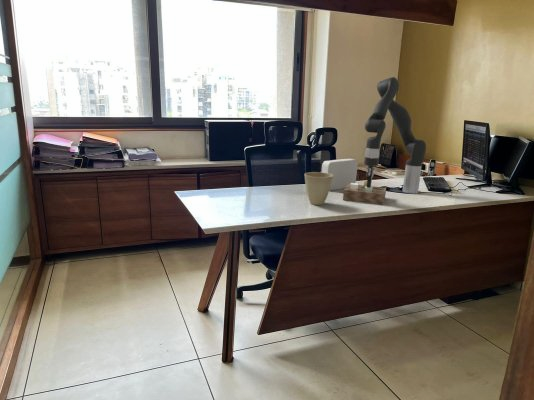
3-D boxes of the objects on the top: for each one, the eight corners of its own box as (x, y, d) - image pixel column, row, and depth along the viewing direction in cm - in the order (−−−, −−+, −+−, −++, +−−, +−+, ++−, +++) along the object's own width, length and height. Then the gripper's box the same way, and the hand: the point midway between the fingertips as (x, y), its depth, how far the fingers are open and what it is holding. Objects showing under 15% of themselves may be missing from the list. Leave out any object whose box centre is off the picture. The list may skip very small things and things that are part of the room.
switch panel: (385, 197, 222) (386, 187, 221) (383, 205, 206) (384, 193, 204) (347, 193, 229) (348, 183, 228) (342, 200, 213) (343, 189, 211)
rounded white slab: (346, 184, 257) (348, 157, 253) (355, 186, 252) (357, 159, 247) (317, 188, 240) (319, 160, 235) (326, 191, 234) (328, 162, 229)
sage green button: (371, 195, 214) (372, 187, 212) (371, 197, 210) (372, 188, 209) (364, 194, 215) (365, 186, 214) (363, 196, 211) (364, 187, 210)
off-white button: (357, 192, 216) (358, 183, 215) (356, 193, 212) (357, 184, 211) (350, 191, 217) (351, 182, 216) (349, 192, 214) (350, 184, 212)
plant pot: (324, 199, 213) (326, 171, 209) (334, 206, 199) (337, 177, 195) (299, 200, 209) (301, 171, 205) (307, 207, 195) (309, 177, 191)
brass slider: (369, 186, 221) (370, 181, 220) (369, 187, 218) (369, 182, 217) (364, 186, 222) (364, 180, 221) (363, 187, 219) (364, 181, 218)
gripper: (366, 154, 214) (363, 184, 219) (363, 157, 202) (360, 188, 206) (379, 155, 212) (376, 185, 216) (378, 158, 200) (374, 190, 204)
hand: (368, 187), depth 211 cm, fingers closed
